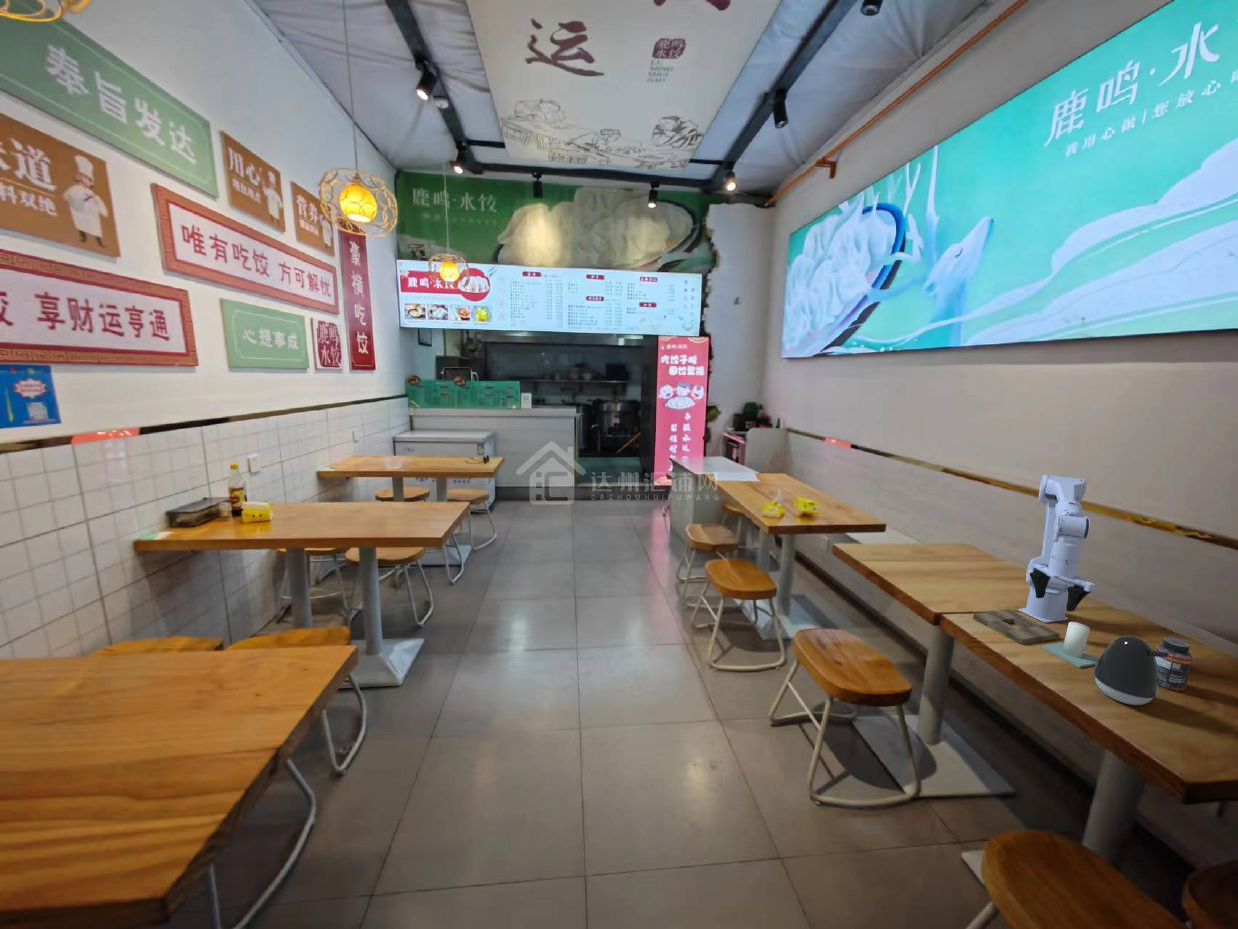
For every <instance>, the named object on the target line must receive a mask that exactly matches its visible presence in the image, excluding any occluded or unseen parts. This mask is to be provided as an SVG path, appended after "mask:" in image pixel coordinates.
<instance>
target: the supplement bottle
mask: <svg viewBox="0 0 1238 929" xmlns="http://www.w3.org/2000/svg"><path fill="white" fill-rule="evenodd" d="M1190 647H1191V646H1190V644H1188V643H1187V642H1185V641H1183V640H1180V639H1177V638H1173V637H1164V639H1163V642H1162V644H1161V643H1160V644H1158V645H1156V647H1155V649H1154V650H1155V651H1162V652H1167V653H1168V655H1169V656H1168V657H1155V659H1156V662H1157V667H1158V673H1159V687H1161V688H1164V689H1166V690H1167V689H1168V690H1171V691H1176V692H1177V691H1178V692H1181V691H1184V690H1185V689H1186V687H1187V685H1188V679H1189V675H1190V673H1191V669H1192V665H1193V660H1194V657H1193V654H1191V653H1190V652H1189V651H1190Z"/></svg>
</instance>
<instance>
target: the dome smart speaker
mask: <svg viewBox="0 0 1238 929" xmlns="http://www.w3.org/2000/svg"><path fill="white" fill-rule="evenodd" d="M1168 656H1169V655H1168V653H1167V652H1162V651H1155V649H1152V648H1151V647H1150V645H1149V643H1148V642H1147V641H1145V640H1143V639H1142V638H1140V637H1138V636H1135V635H1124V636H1123V635H1122V636H1120V637H1118V638H1116V639H1115V640H1113V641H1112V642H1111V643H1110V644H1109V645H1108V646H1107V647H1106V648H1105V649H1104V650H1103V651H1102V653H1101V655H1100V656H1099V657H1098V658H1099V659H1098V661H1097V663H1096V665H1094V669H1093V672H1092V673H1093V676H1094V679H1095V680H1094V681H1095V683H1096V685H1097V687H1098V688H1099V689H1100V691H1101V692H1102V693H1103V694H1105V695H1106V696H1108V697H1110V699H1113V700H1114V701H1116V702H1117V701H1118V702H1119V703H1123V704H1127V705H1132V706H1139V705H1140V706H1141V705H1147V703H1150V702H1151V701H1152V700H1153V699H1154V698H1156V697H1157V695H1158V693H1159V687H1160V686H1159V673H1158V667H1157V662H1156V659H1155V657H1168Z"/></svg>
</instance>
